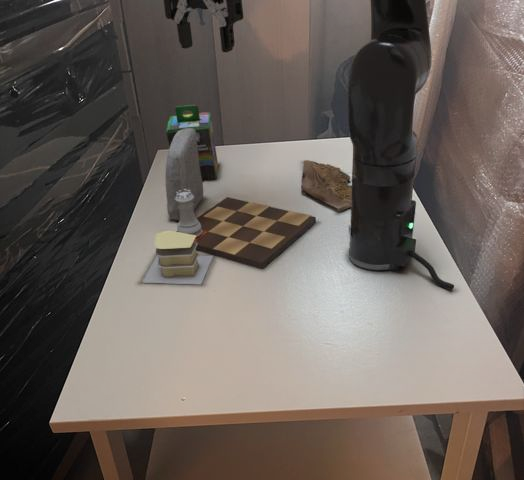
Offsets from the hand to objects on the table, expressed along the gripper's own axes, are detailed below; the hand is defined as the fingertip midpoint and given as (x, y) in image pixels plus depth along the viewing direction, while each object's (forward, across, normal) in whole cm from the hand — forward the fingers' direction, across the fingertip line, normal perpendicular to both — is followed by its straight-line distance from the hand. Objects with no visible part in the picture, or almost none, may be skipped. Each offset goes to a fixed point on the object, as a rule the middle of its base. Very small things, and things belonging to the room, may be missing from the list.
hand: (207, 49), depth 99 cm
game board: (+28, +10, -8) cm, 31 cm away
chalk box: (+28, -15, +10) cm, 34 cm away
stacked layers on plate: (+28, +7, -23) cm, 37 cm away
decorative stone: (+28, -6, -5) cm, 29 cm away
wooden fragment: (+28, +14, +16) cm, 35 cm away
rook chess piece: (+27, +3, -15) cm, 31 cm away
